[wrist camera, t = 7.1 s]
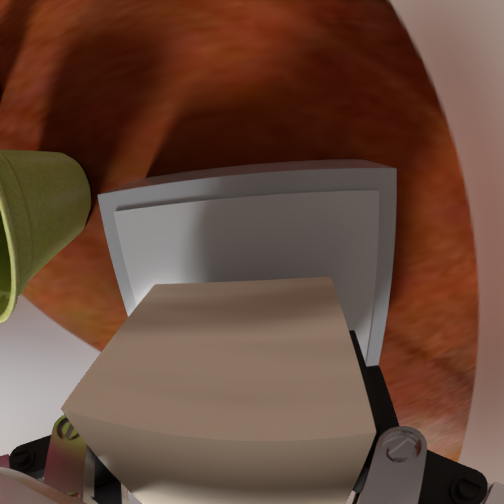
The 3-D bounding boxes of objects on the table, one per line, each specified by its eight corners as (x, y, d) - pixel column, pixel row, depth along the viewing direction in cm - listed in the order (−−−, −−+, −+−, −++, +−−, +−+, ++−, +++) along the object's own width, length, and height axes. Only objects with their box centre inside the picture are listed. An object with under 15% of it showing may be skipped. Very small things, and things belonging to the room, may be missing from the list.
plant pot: (7, 164, 16) (-79, 190, 8) (87, 100, 14) (-22, 96, 6) (46, 272, 19) (-28, 330, 11) (135, 237, 17) (46, 310, 9)
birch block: (154, 284, 10) (60, 408, 5) (330, 276, 9) (376, 432, 4) (189, 400, 12) (152, 512, 7) (323, 400, 11) (334, 524, 6)
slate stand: (144, 177, 16) (95, 195, 11) (362, 159, 14) (398, 168, 10) (182, 350, 20) (160, 402, 15) (354, 344, 19) (370, 401, 14)
